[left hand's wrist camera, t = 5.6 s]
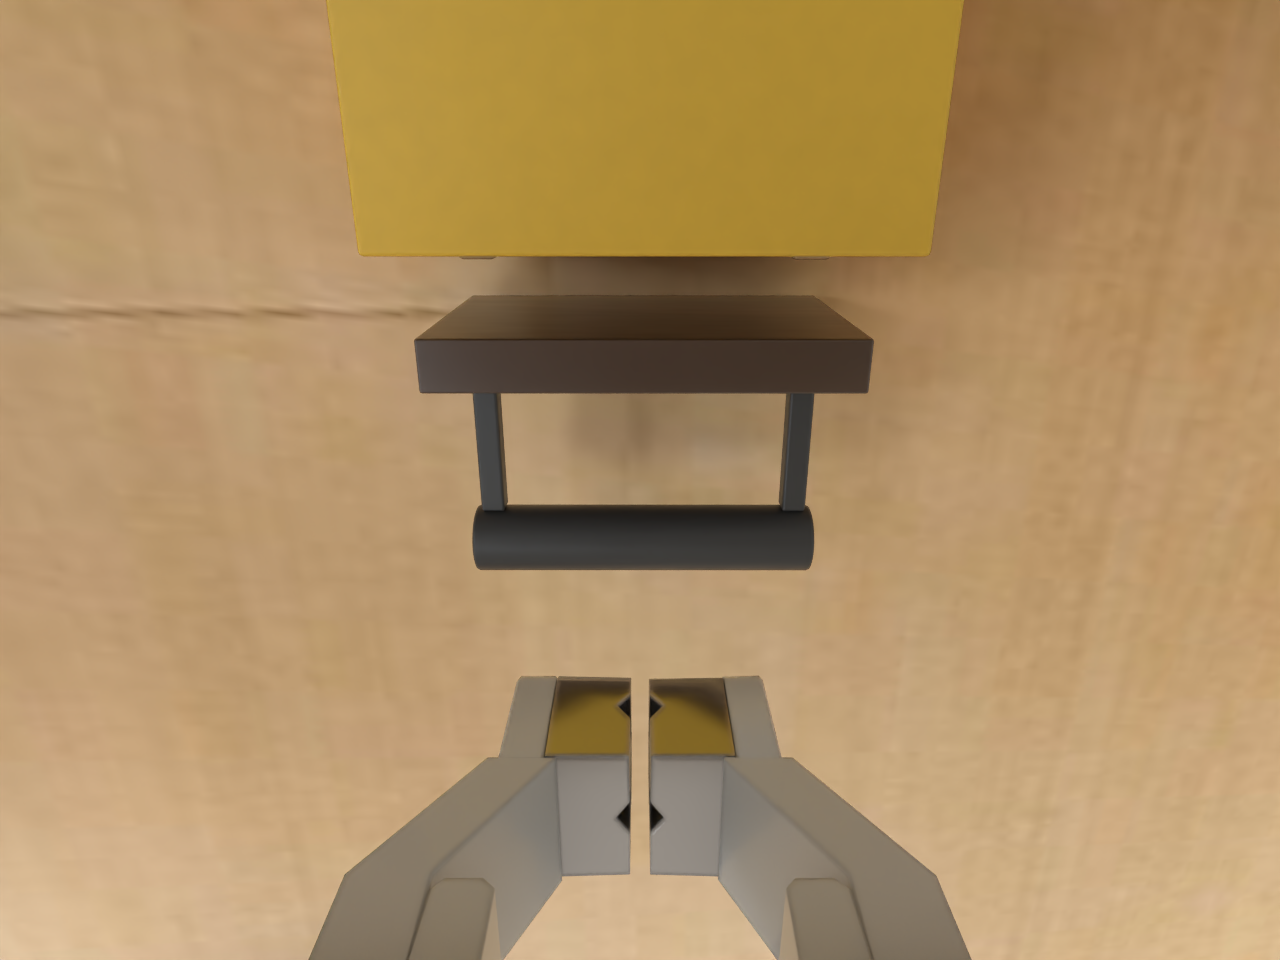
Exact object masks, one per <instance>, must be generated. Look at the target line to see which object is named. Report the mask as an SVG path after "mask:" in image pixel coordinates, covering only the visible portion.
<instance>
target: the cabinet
mask: <svg viewBox="0 0 1280 960" xmlns="http://www.w3.org/2000/svg"><path fill="white" fill-rule="evenodd" d="M326 4H327V12H328V19H329V27H330V35H331V43H332V51H333V59H334V66H335V74H336V82H337V90H338V98H339V106H340V113H341V121H342V129H343V137H344V145H345V152H346V160H347V168H348V176H349V184H350V192H351V199H352V207H353V215H354V223H355V231H356V238H357V246H358V252H359V254H360V255H362V256H751V257H925V256H928V255H929V254H930V252H931V246H932V239H933V231H934V224H935V216H936V209H937V201H938V194H939V186H940V178H941V171H942V163H943V156H944V148H945V141H946V133H947V126H948V118H949V110H950V103H951V95H952V88H953V80H954V73H955V65H956V58H957V50H958V42H959V35H960V27H961V20H962V12H963V5H964V0H326Z"/></svg>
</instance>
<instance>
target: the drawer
mask: <svg viewBox="0 0 1280 960" xmlns="http://www.w3.org/2000/svg"><path fill="white" fill-rule="evenodd" d="M459 257H460V258H462V259H493V258H495V257H497V256H459ZM792 258H794V259H828V258H829V257H792ZM414 343H415V353H416V362H417V372H418V381H419V390H420V393H473V403H474V415H475V427H476V440H477V452H478V464H479V477H480V489H481V501H482V505H480V506H479V507H478V508H477V510H476V513H475V517H474V523H473V555H474V560H475V564H476V566H477V568H478V569H480V570H807V569H809V568H810V566H811V563H812V559H813V553H814V526H813V519H812V515H811V512H810V509H809V507H808V506H806V505H805V498H806V486H807V474H808V463H809V451H810V439H811V427H812V416H813V404H814V393H868V389H869V380H870V371H871V362H872V353H873V344H874V340H873V339H872V338H870V337H869V336H868V335H866V334H865V333H864V332H862V331H861V330H860V329H858V328H857V327H855V326H854V325H853V324H851V323H850V322H849V321H847V320H846V319H845V318H843V317H842V316H840V315H839V314H838V313H836V312H835V311H834V310H832V309H831V308H830V307H828V306H827V305H825V304H824V303H823V302H821V301H820V300H819V299H817V298H816V297H815V296H472V297H470V298H469V299H468V300H466V301H465V302H464V303H462V304H461V305H460V306H458V307H457V308H456V309H455V310H453V311H452V312H451V313H449V314H448V315H447V316H445V317H444V318H443V319H441V320H440V321H439V322H437V323H436V324H435V325H433V326H432V327H431V328H429V329H428V330H427V331H425V332H424V333H423V334H421V335H420V336H419V337H417V338H416V339H415V341H414ZM501 393H786V407H785V421H784V435H783V449H782V463H781V477H780V491H779V504H780V505H507V502H508V497H507V482H506V467H505V452H504V437H503V423H502V408H501Z"/></svg>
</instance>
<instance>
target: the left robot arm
mask: <svg viewBox="0 0 1280 960" xmlns="http://www.w3.org/2000/svg"><path fill="white" fill-rule="evenodd" d="M631 739H632V732H631V678H609V677H562V676H559V677H558V678H557V677H555V676H521V677H520V679H519V680H518V681H517V684H516V688H515V692H514V696H513V700H512V704H511V708H510V712H509V717H508V721H507V725H506V729H505V733H504V737H503V741H502V745H501V749H500V754H499V757H498V758H486V759H485V760H484V761H483V762H482V763H480V764H479V765H478V766H477V767H476V768H474V769H473V770H472V771H471V772H469V773H468V774H467V775H466V776H465V777H463V778H462V779H461V780H460V781H458V782H457V783H456V784H455V785H454V786H452V787H451V788H450V789H449V790H447V791H446V792H445V793H444V794H443V795H441V796H440V797H439V798H438V799H436V800H435V801H434V802H433V803H432V804H430V805H429V806H428V807H427V808H425V809H424V810H423V811H422V812H421V813H419V814H418V815H417V816H416V817H414V818H413V819H412V820H411V821H410V822H408V823H407V824H406V825H405V826H403V827H402V828H401V829H400V830H399V831H397V832H396V833H395V834H394V835H392V836H391V837H390V838H389V839H388V840H386V841H385V842H384V843H383V844H381V845H380V846H379V847H378V848H377V849H375V850H374V851H373V852H372V853H370V854H369V855H368V856H367V857H366V858H364V859H363V860H362V861H361V862H359V863H358V864H357V865H356V866H355V867H353V868H352V869H351V870H350V871H348V872H347V873H346V874H345V875H344V878H343V880H342V882H341V885H340V887H339V889H338V892H337V894H336V896H335V899H334V901H333V904H332V906H331V908H330V911H329V913H328V915H327V918H326V920H325V922H324V925H323V927H322V929H321V932H320V934H319V936H318V939H317V941H316V943H315V946H314V948H313V950H312V953H311V955H310V958H309V960H504V958H505V957H506V955H507V954H508V953H509V951H510V950H511V949H512V947H513V946H514V945H515V943H516V942H517V941H518V939H519V938H520V937H521V935H522V934H523V932H524V931H525V930H526V928H527V927H528V926H529V924H530V923H531V922H532V920H533V919H534V918H535V916H536V915H537V914H538V912H539V911H540V909H541V908H542V907H543V905H544V904H545V903H546V901H547V900H548V899H549V897H550V896H551V895H552V893H553V892H554V890H555V889H556V888H557V886H558V885H559V884H560V882H561V881H562V876H588V875H622V874H630V845H631ZM649 840H650V874H656V875H691V876H718V880H719V881H720V883H721V884H722V885H723V887H724V888H725V889H726V891H727V892H728V894H729V895H730V896H731V898H732V899H733V900H734V902H735V903H736V904H737V906H738V907H739V909H740V910H741V911H742V913H743V914H744V915H745V917H746V918H747V919H748V921H749V922H750V924H751V925H752V926H753V928H754V929H755V930H756V932H757V933H758V934H759V936H760V937H761V939H762V940H763V941H764V943H765V944H766V945H767V947H768V948H769V949H770V951H771V952H772V953H773V955H774V956H775V958H776V959H777V960H971V957H970V955H969V953H968V950H967V948H966V945H965V943H964V941H963V938H962V936H961V933H960V931H959V929H958V926H957V924H956V922H955V919H954V917H953V914H952V912H951V910H950V907H949V905H948V903H947V900H946V898H945V895H944V893H943V891H942V888H941V886H940V883H939V881H938V879H937V876H936V875H935V874H934V873H932V872H931V871H930V870H929V869H927V868H926V867H925V866H924V865H923V864H921V863H920V862H919V861H918V860H916V859H915V858H914V857H913V856H912V855H910V854H909V853H908V852H907V851H906V850H904V849H903V848H902V847H901V846H899V845H898V844H897V843H896V842H895V841H893V840H892V839H891V838H890V837H889V836H887V835H886V834H885V833H884V832H882V831H881V830H880V829H879V828H878V827H876V826H875V825H874V824H873V823H871V822H870V821H869V820H868V819H867V818H865V817H864V816H863V815H862V814H861V813H859V812H858V811H857V810H856V809H854V808H853V807H852V806H851V805H850V804H848V803H847V802H846V801H845V800H844V799H842V798H841V797H840V796H839V795H837V794H836V793H835V792H834V791H833V790H831V789H830V788H829V787H828V786H827V785H825V784H824V783H823V782H822V781H820V780H819V779H818V778H817V777H816V776H814V775H813V774H812V773H811V772H809V771H808V770H807V769H806V768H805V767H803V766H802V765H801V764H800V763H799V762H797V761H796V760H795V759H794V758H782V757H781V753H780V749H779V745H778V741H777V737H776V733H775V729H774V725H773V721H772V717H771V713H770V709H769V704H768V700H767V696H766V692H765V688H764V684H763V680H762V679H761V678H760V677H759V676H737V677H722V678H677V679H649Z"/></svg>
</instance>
